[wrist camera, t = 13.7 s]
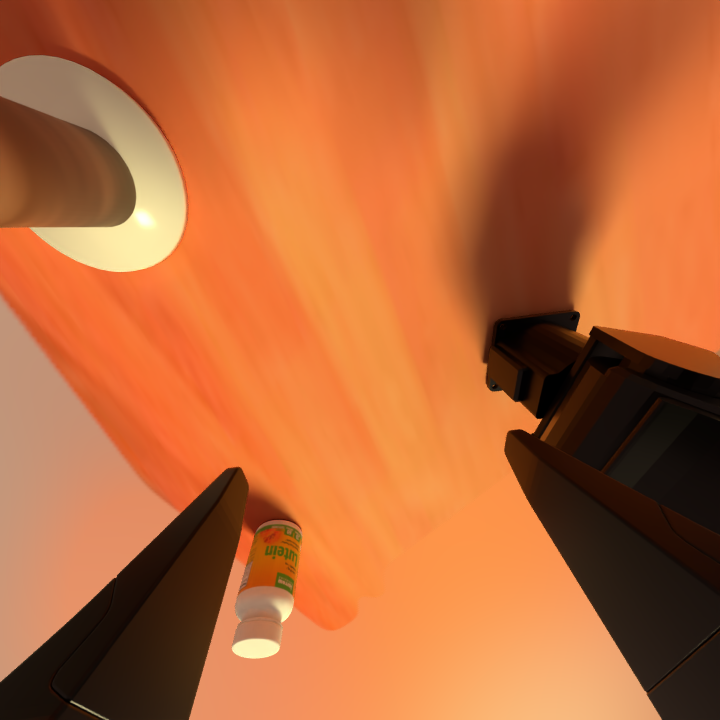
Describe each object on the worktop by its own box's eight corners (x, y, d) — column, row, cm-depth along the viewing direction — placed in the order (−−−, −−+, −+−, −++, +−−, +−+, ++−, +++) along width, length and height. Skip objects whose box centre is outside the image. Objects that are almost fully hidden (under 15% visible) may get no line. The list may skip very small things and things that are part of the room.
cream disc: (140, 49, 13) (131, 42, 13) (212, 260, 18) (208, 261, 17) (-59, 75, 13) (-76, 68, 13) (63, 279, 18) (55, 281, 17)
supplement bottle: (310, 524, 31) (298, 640, 22) (292, 549, 33) (274, 664, 24) (265, 513, 30) (233, 631, 21) (249, 540, 32) (214, 658, 23)
